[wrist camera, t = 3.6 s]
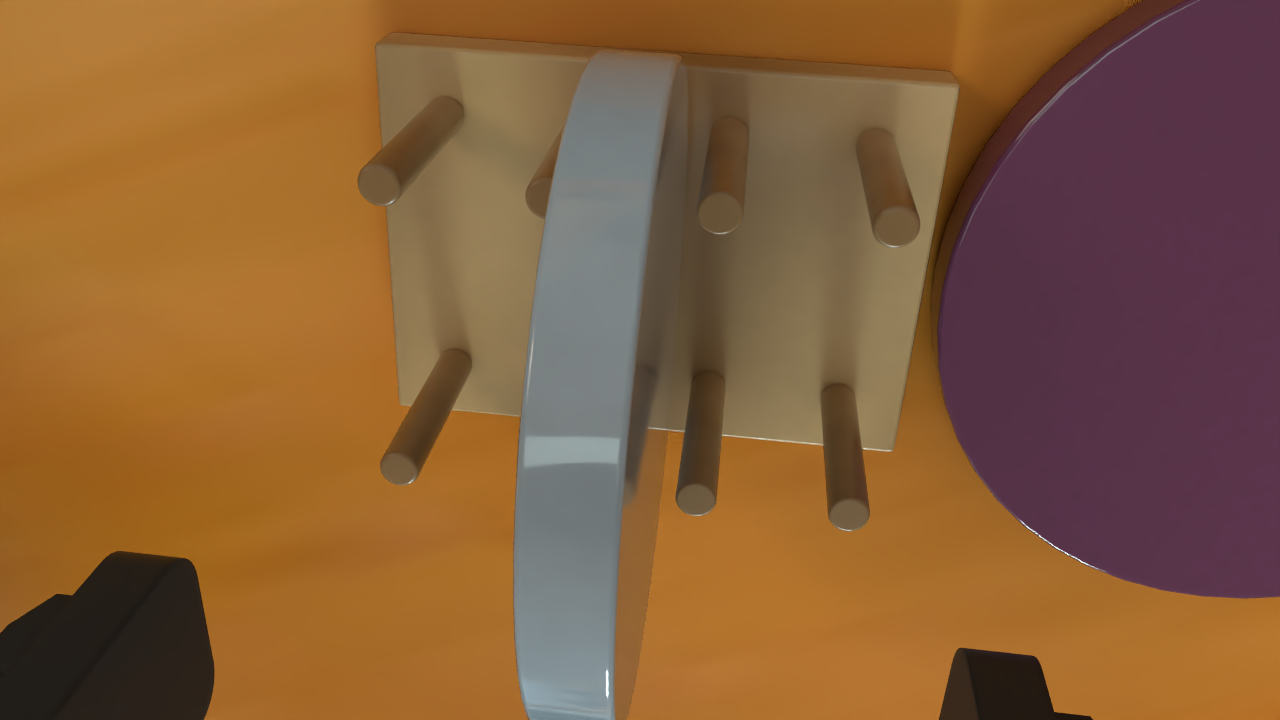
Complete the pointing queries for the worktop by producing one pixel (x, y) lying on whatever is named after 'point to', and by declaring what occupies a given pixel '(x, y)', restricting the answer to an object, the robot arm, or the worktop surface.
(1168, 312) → the plum plate
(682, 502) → the dish rack
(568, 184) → the plate
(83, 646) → the robot arm
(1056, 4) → the worktop surface
